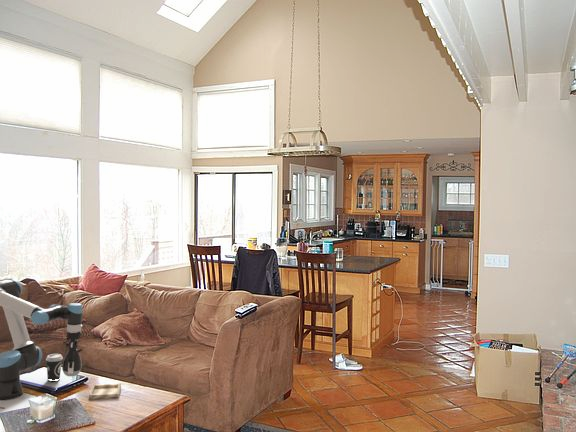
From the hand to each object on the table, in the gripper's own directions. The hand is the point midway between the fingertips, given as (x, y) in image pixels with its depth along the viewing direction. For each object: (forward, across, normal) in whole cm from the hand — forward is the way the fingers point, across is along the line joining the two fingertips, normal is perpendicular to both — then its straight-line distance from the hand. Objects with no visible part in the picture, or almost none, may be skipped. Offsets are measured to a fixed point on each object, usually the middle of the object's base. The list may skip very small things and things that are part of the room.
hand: (72, 370), depth 292 cm
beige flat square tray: (+14, 0, -18) cm, 23 cm away
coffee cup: (+15, +25, +14) cm, 32 cm away
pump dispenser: (+3, 0, 0) cm, 3 cm away
